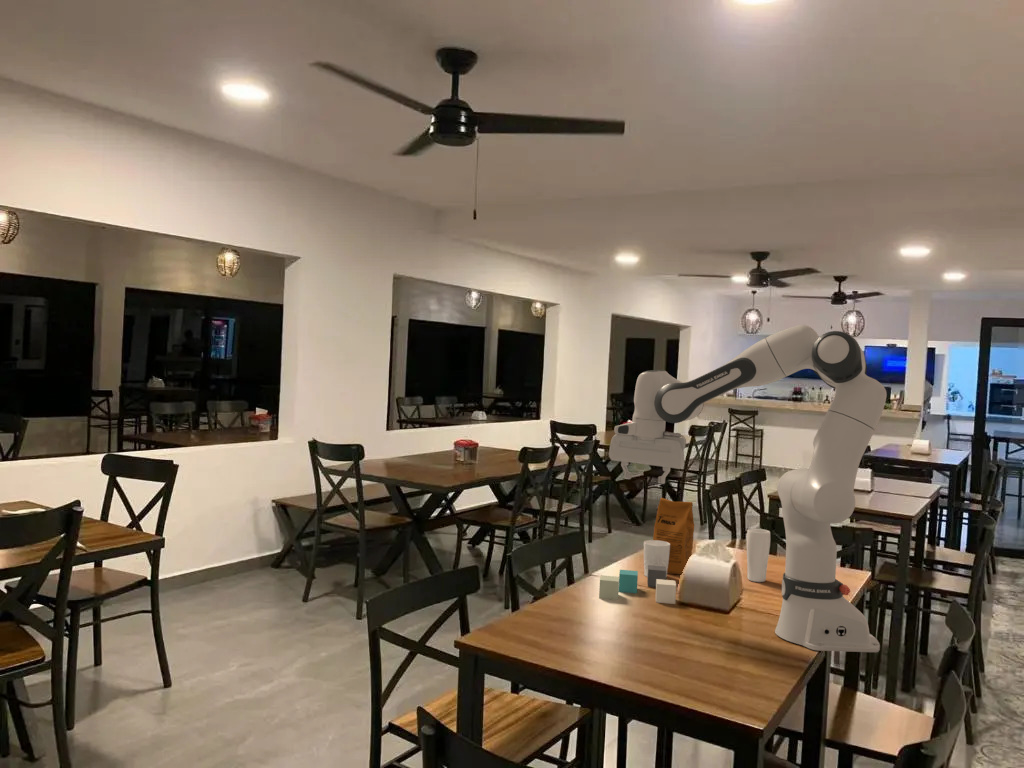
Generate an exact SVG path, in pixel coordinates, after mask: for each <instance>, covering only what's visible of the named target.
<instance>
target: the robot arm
mask: <svg viewBox="0 0 1024 768" xmlns="http://www.w3.org/2000/svg"><path fill="white" fill-rule="evenodd" d="M807 369H808V370H809V369H810V370H812V371H813V373H814V374H815V375H817V376H818V378H820V380H822V381H823V382H824V383H825V384H826V385H827V386H828V387H830V388H832V389H834V390H835V392H834V397H833V400H832V402H831V404H830V406H829V407H828V410H827V412H826V413H825V415H824V417H823V419H822V422H821V424H820V426H819V428H818V430H817V431H816V434H815V436H814V437H813V441H812V444H813V452H812V456H811V457H812V458H811V460H810V461H811V462H810V466H809V468H803V467H802V468H794V469H791V470H788V471H786V472H785V473H783V474H782V475H781V477H780V478H779V480H778V482H777V485H776V486H777V487H776V489H777V490H776V491H777V494H778V498H779V500H780V504H781V509H782V517H783V525H784V530H785V542H786V544H785V545H786V547H785V570H784V572H783V574H782V580H781V596H782V603H781V608H780V614H779V617H778V622H777V623H776V627H775V630H774V632H775V634H776V636H778V637H780V638H781V639H783V640H785V641H787V642H790V643H792V644H793V643H794V644H797V645H801V646H803V647H806V648H807V649H810V650H812V651H818V652H819V651H821V652H822V651H823V652H825V651H826V652H848V653H849V652H853V653H855V652H857V653H879V651H880V650H881V649H880V648H881V645H880V642H879V640H878V639H877V638H876V637H875V636H873V634H871V633H870V628H869V627H870V626H869V624H868V621H867V618H866V616H865V615H864V614H863V613H862V612H861V611H860V610H859V609H858V608H857V607H856V606H855V605H854V604H852V603H851V602H850V601H849V600H848V599H847V598H845V597H844V596H849V594H850V593H851V588H850V587H849V586H848V585H847V584H843V582H841V581H839V580H838V579H836V578H837V577H836V576H837V575H836V574H837V572H836V570H837V554H838V553H837V552H838V547H837V543H836V540H835V539H834V536H833V532H832V528H831V527H832V526H831V525H832V524H840V523H842V522H845V521H847V520H849V518H850V517H851V516H852V514H853V512H854V510H855V508H856V496H855V493H854V491H855V490H854V489H855V485H856V484H855V483H856V479H857V474H858V470H859V466H860V463H861V460H862V459H863V457H864V454H865V451H866V449H867V448H868V445H869V444H870V442H871V440H872V437H873V435H874V433H875V431H876V430H877V426H878V424H879V422H880V419H881V417H882V414H883V411H884V409H885V405H886V401H887V395H888V394H887V390H886V388H885V386H884V385H883V384H882V383H881V382H879V381H878V380H877V379H875V378H873V377H870V376H868V375H867V371H868V366H867V361H866V356H865V353H864V351H863V349H862V348H861V346H860V345H859V343H858V341H857V339H855V337H853V336H852V335H850V334H849V333H846V332H844V331H841V330H833V331H828V332H825V333H823V334H821V335H819V334H818V333H817V332H816V330H814V329H813V328H812V327H811V326H809V325H806V324H798V325H794V326H791V327H788V328H786V329H782V330H780V331H778V332H774V333H773V334H771V335H768V336H766V337H764V338H762V339H761V340H759V341H757V342H755V343H754V344H752V345H750V346H748V347H747V348H746V349H745V350H743V351H742V352H741V353H739V354H738V355H736V356H735V357H733V358H731V360H730V361H728V362H726V363H725V364H723V365H722V366H719V367H718V368H715V369H713V370H711V371H709V372H707V373H705V374H703V375H701V376H699V377H696V378H694V379H691V380H690V381H686V382H683V381H681V380H679V379H677V378H675V377H673V376H672V375H671V374H669V373H668V371H666V370H665V369H653V370H646V371H643V372H641V373H640V374H639V375H638V377H637V379H636V383H635V388H634V389H635V390H634V395H633V403H634V411H633V414H632V420H631V422H627V423H625V424H624V423H623V424H620V425H619V424H618V425H615V426H614V433H615V434H614V435H613V436H612V437H611V440H610V444H609V451H608V457H609V458H610V460H611V461H617V462H621V463H620V466H621V469H622V471H623V473H624V474H623V479H624V480H625V479H626V480H631V479H632V475H633V474H632V472H630V471H629V469H628V466H629V463H633V464H641V465H648V466H654V467H655V466H656V467H662V471H663V473H662V475H661V476H658V477H657V483H658V484H661V485H665V484H666V477H667V476H668V474H670V472H671V468H672V469H682V467H684V465H685V449H686V447H687V446H686V443H687V441H686V440H687V439H686V437H685V436H684V435H682V434H681V433H679V432H671V431H666V422H667V423H670V424H679V423H682V422H686V421H690V420H693V419H695V418H696V417H698V416H699V415H700V414H701V413H702V411H703V409H704V406H705V405H704V404H705V403H706V402H708V401H711V400H712V399H714V398H717V397H719V396H722V395H723V394H725V393H728V392H730V391H733V390H737V389H740V388H748V387H749V388H751V387H760V386H761V387H762V386H765V385H769V384H771V383H774V382H777V381H780V380H782V379H785V378H786V377H788V376H790V375H793V374H795V373H797V372H800V371H801V370H807Z"/></svg>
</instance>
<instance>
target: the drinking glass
mask: <svg viewBox="0 0 1024 768" xmlns="http://www.w3.org/2000/svg"><path fill="white" fill-rule="evenodd" d="M770 548H771V531H770V530H767V529H763V528H748V529H747V530H746V560H747V561H746V564H747V565H746V566H747V568H746V569H747V573H746V575H747V576H746V577H747V579H748V581H750V582H754V583H764V582H765V581H766V580H767V571H768V570H767V568H768V562H769V555H770V550H771V549H770Z"/></svg>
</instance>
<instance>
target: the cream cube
mask: <svg viewBox="0 0 1024 768" xmlns="http://www.w3.org/2000/svg"><path fill="white" fill-rule="evenodd" d="M676 582H677V581H676V580H673V579H671V580H670V579H666V580H662V579H656V587H655V603H660V604H668V605H669V604H670V605H676V597H677V596H676V595H677V594H676V593H677V583H676Z"/></svg>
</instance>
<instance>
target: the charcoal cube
mask: <svg viewBox="0 0 1024 768" xmlns="http://www.w3.org/2000/svg"><path fill="white" fill-rule="evenodd" d="M656 579H662V580H667V577H666V567H665V566H653V565H648V577H647V578H646V580H647V581H646V582H647V587H649V588H656Z"/></svg>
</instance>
